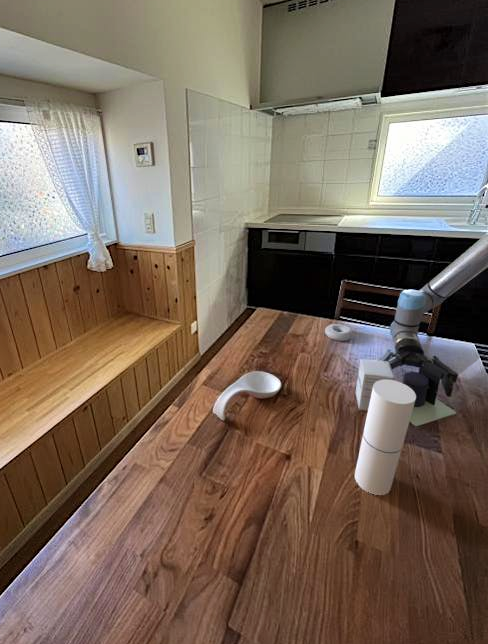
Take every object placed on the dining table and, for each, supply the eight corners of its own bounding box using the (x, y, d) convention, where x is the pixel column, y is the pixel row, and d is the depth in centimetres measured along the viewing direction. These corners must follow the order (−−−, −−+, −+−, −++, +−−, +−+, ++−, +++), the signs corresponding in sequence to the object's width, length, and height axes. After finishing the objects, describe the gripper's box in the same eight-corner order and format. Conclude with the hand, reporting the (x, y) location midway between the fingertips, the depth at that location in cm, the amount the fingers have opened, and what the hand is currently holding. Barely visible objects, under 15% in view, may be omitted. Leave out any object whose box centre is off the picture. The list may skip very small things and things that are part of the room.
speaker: (420, 391, 99) (426, 363, 94) (435, 405, 94) (442, 376, 89) (395, 396, 99) (400, 369, 94) (409, 410, 94) (415, 382, 89)
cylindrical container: (349, 481, 75) (367, 392, 65) (361, 461, 79) (380, 375, 69) (384, 502, 70) (409, 409, 60) (395, 479, 75) (420, 389, 64)
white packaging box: (354, 393, 101) (359, 358, 96) (382, 396, 98) (389, 360, 93) (357, 410, 95) (363, 373, 89) (387, 414, 92) (395, 377, 87)
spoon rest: (259, 375, 112) (260, 357, 109) (288, 392, 103) (290, 373, 100) (205, 408, 99) (204, 388, 96) (233, 430, 90) (233, 410, 87)
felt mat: (456, 413, 91) (457, 412, 91) (416, 426, 88) (416, 425, 88) (411, 383, 104) (412, 382, 103) (374, 393, 100) (374, 393, 100)
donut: (322, 329, 137) (326, 341, 128) (323, 321, 136) (327, 333, 127) (349, 330, 135) (354, 343, 126) (350, 323, 133) (355, 335, 124)
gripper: (451, 364, 107) (472, 408, 89) (363, 351, 116) (367, 388, 99) (457, 344, 104) (480, 385, 86) (367, 332, 113) (371, 367, 95)
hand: (420, 387), depth 92 cm, fingers open, 13 cm apart
